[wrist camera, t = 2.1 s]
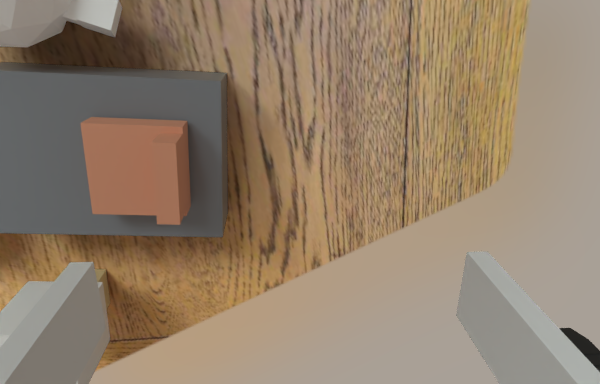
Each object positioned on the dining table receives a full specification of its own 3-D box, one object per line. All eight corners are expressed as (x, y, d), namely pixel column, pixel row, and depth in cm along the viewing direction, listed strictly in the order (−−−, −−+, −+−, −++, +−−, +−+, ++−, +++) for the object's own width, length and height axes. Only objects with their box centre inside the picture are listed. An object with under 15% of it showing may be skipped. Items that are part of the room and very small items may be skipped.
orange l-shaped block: (101, 203, 35) (79, 229, 31) (91, 116, 32) (64, 131, 28) (190, 205, 35) (180, 230, 31) (187, 120, 33) (175, 135, 29)
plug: (59, 312, 45) (-3, 400, 34) (49, 258, 42) (-21, 334, 32) (123, 312, 45) (80, 399, 35) (117, 259, 43) (69, 335, 32)
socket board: (31, 208, 40) (0, 233, 35) (3, 62, 35) (-37, 69, 31) (227, 212, 42) (222, 237, 37) (226, 72, 37) (220, 81, 32)
